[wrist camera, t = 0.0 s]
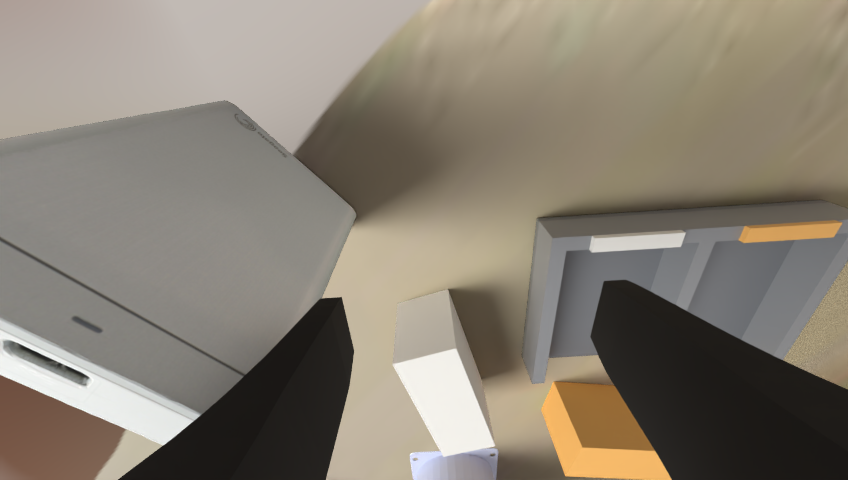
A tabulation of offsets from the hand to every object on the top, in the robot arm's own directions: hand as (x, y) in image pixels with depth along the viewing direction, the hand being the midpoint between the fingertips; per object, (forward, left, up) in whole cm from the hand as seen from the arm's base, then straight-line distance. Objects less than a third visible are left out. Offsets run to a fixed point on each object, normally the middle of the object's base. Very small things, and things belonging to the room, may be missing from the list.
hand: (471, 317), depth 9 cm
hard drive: (+2, +8, -10) cm, 13 cm away
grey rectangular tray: (-7, -13, -10) cm, 18 cm away
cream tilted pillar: (-11, +1, -10) cm, 15 cm away
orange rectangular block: (-18, -12, -10) cm, 24 cm away
